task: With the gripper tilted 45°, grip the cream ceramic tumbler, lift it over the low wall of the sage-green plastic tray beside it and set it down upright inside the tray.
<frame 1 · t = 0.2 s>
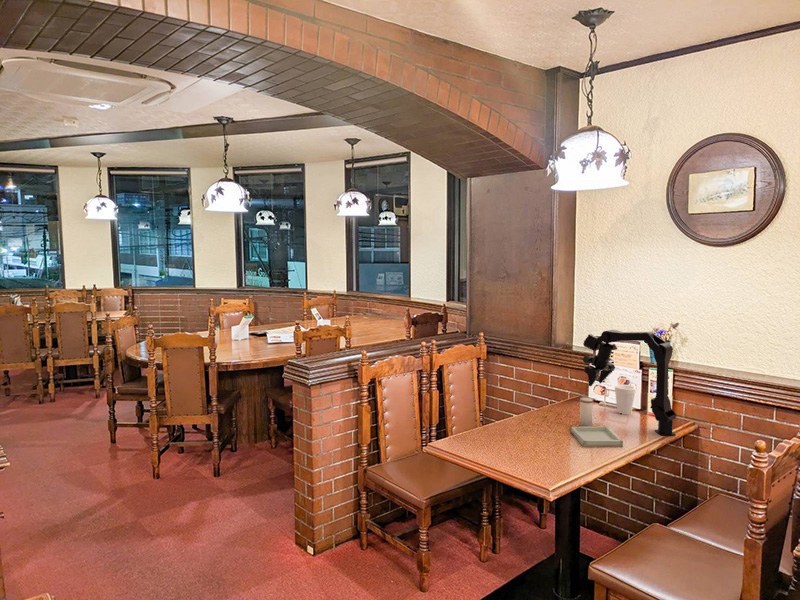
hand: (594, 384, 271), 15 cm above the table, tool pointing down, fingers open, 9 cm apart
foam cup: (624, 413, 277), on the table
tray: (595, 439, 240), on the table
tumbler: (585, 426, 256), on the table
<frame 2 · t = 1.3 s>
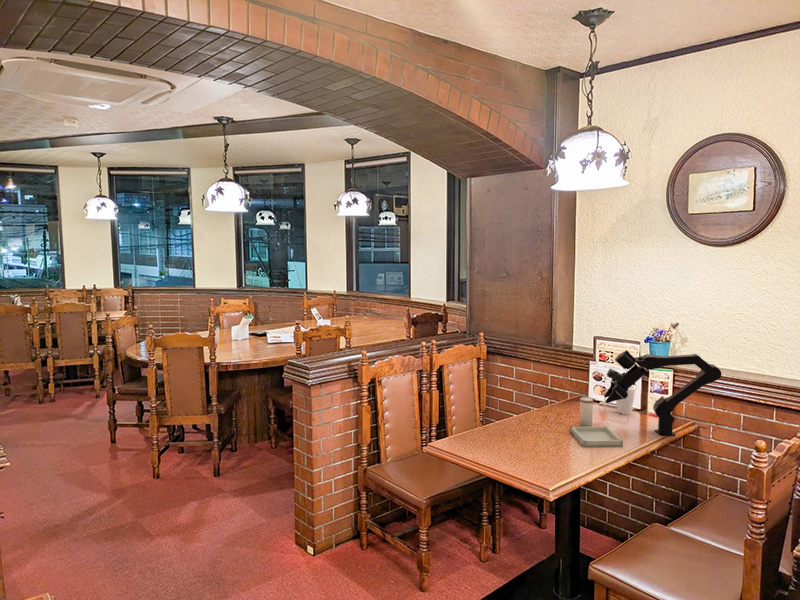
hand: (605, 399, 253), 13 cm above the table, tool tilted 45°, fingers open, 9 cm apart
nothing on the table moved.
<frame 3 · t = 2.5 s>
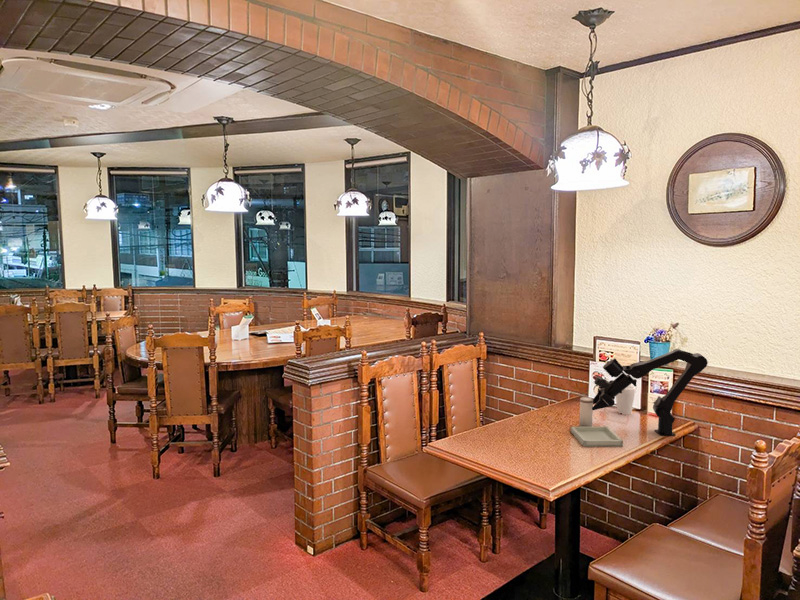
hand: (591, 406, 254), 10 cm above the table, tool tilted 45°, fingers open, 9 cm apart
nothing on the table moved.
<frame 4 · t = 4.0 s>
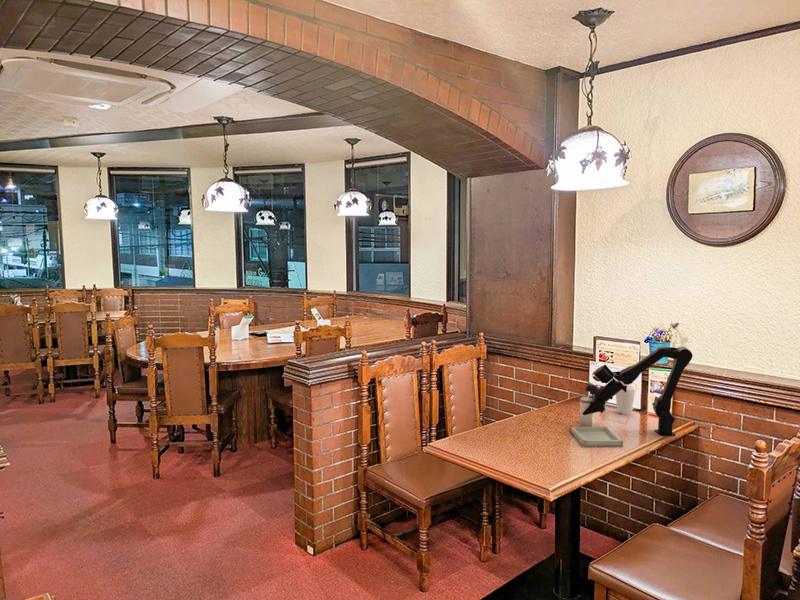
hand: (582, 412, 256), 7 cm above the table, tool tilted 45°, fingers closed on tumbler, 6 cm apart
tumbler: (585, 426, 256), on the table, touching gripper
everything else where it was.
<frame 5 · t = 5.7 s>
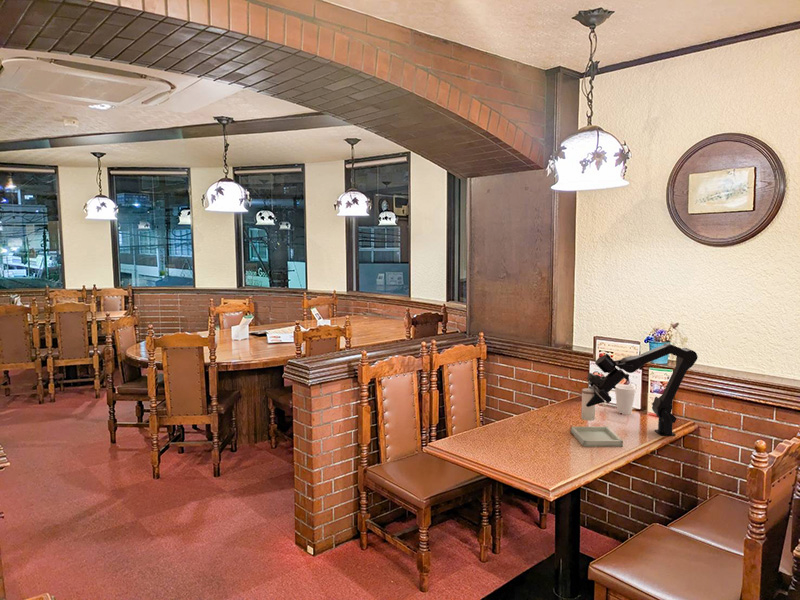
hand: (585, 404, 249), 12 cm above the table, tool tilted 45°, fingers closed on tumbler, 6 cm apart
tumbler: (587, 418, 249), point 6 cm above the table, touching gripper
everything else where it was.
when the fingers open (9 cm above the table, at t = 7.7 s): tumbler drops 1 cm, resting on tray.
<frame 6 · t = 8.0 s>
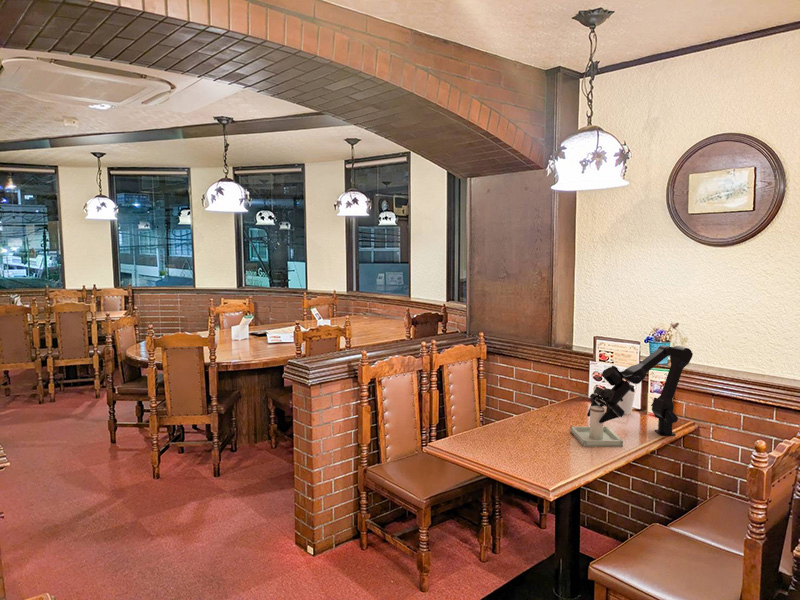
hand: (593, 419, 239), 9 cm above the table, tool tilted 45°, fingers open, 9 cm apart
tumbler: (595, 437, 240), point 1 cm above the table, touching tray
everything else where it was.
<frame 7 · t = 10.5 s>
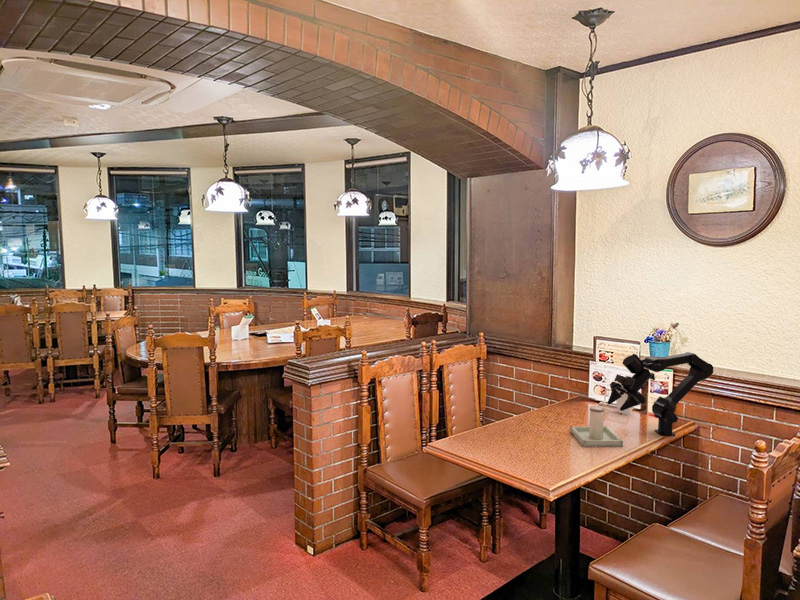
hand: (614, 407, 240), 14 cm above the table, tool tilted 45°, fingers open, 9 cm apart
nothing on the table moved.
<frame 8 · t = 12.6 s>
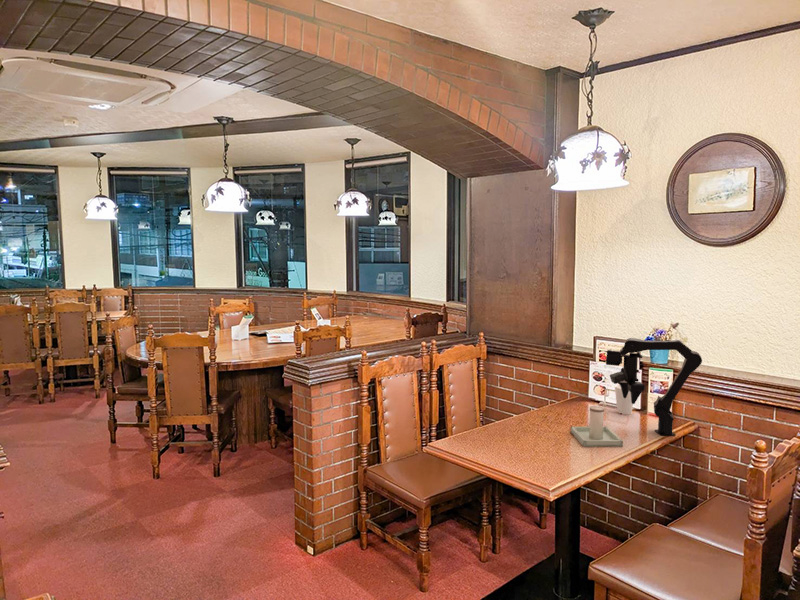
hand: (628, 400, 252), 13 cm above the table, tool pointing down, fingers open, 9 cm apart
nothing on the table moved.
at the end: tumbler inside the target area on the tray (0.0 cm from its centre), point 0.8 cm above the tray's base; tumbler tilted 0°; the gripper is holding nothing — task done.
